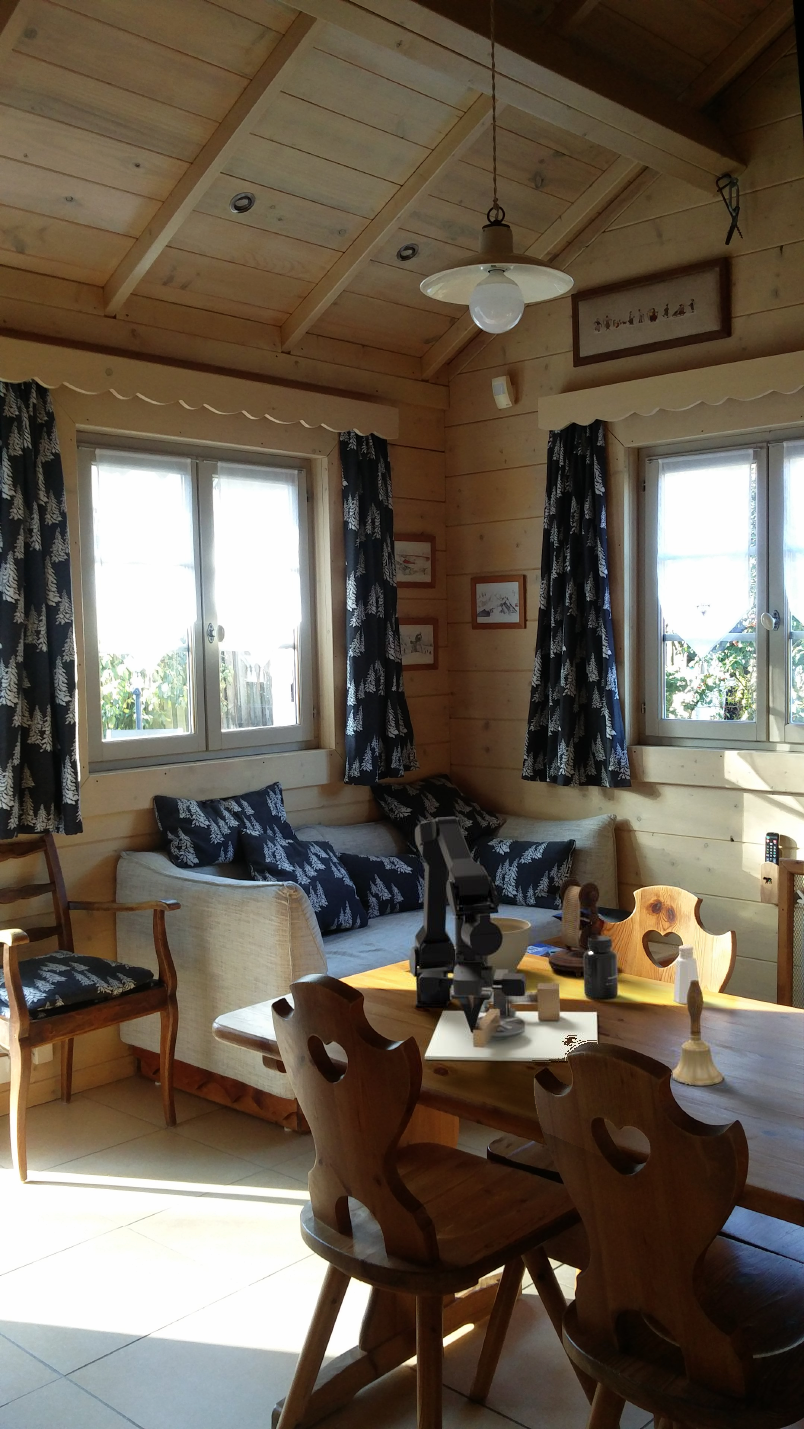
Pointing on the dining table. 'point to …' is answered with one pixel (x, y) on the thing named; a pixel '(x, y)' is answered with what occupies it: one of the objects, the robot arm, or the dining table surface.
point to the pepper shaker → (684, 973)
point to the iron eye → (501, 996)
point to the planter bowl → (510, 943)
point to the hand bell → (696, 1047)
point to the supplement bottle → (600, 969)
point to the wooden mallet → (536, 1001)
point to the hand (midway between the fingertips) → (472, 1032)
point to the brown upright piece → (576, 924)
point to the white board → (512, 1038)
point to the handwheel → (496, 1027)
